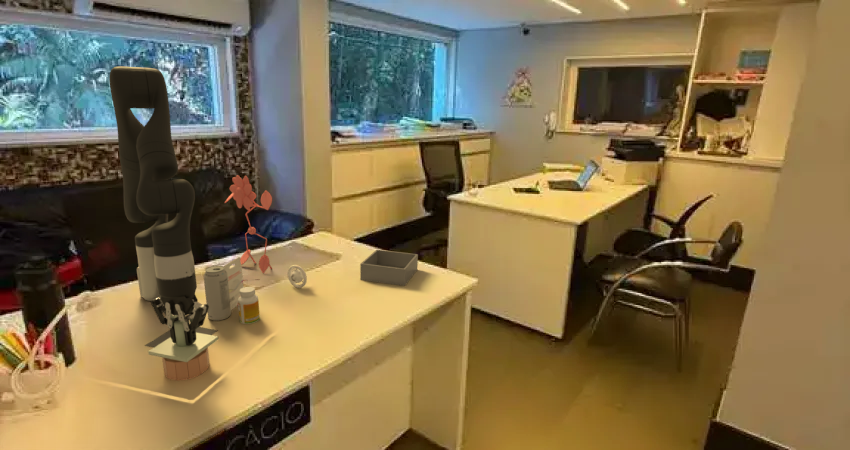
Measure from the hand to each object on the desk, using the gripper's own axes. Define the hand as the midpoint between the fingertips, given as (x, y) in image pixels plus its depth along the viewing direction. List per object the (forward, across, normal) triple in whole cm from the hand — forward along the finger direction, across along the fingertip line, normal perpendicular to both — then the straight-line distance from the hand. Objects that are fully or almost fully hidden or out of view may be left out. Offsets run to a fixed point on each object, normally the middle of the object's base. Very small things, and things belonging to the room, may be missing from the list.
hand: (184, 342), depth 104 cm
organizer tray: (+7, +25, +71) cm, 76 cm away
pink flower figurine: (+8, -24, +57) cm, 62 cm away
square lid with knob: (+1, 0, 0) cm, 1 cm away
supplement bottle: (+8, -1, +25) cm, 26 cm away
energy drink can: (+8, -10, +24) cm, 27 cm away
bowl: (+7, 0, 0) cm, 7 cm away
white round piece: (+8, 0, +51) cm, 52 cm away
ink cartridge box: (+8, -12, +31) cm, 34 cm away
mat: (+7, -11, +11) cm, 17 cm away
